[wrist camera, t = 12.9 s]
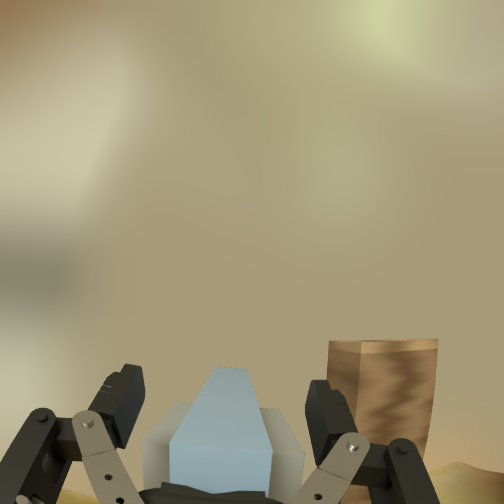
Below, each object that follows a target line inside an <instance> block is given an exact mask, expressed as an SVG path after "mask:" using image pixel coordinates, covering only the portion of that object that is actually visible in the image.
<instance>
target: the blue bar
mask: <svg viewBox="0 0 504 504" xmlns="http://www.w3.org/2000/svg"><path fill="white" fill-rule="evenodd" d="M272 452H273V450H272V447H271V443H270V440H269V437H268V434H267V431H266V428H265V425H264V422H263V419H262V416H261V412H260V409H259V406H258V403H257V400H256V396H255V393H254V390H253V387H252V383H251V380H250V377H249V373H248V370H247V369H242V368H227V367H215V368H214V370H213V372H212V373H211V375H210V377H209V378H208V380H207V382H206V383H205V385H204V387H203V388H202V390H201V392H200V393H199V395H198V397H197V398H196V400H195V401H194V403H193V405H192V406H191V408H190V410H189V411H188V413H187V414H186V416H185V418H184V419H183V421H182V422H181V424H180V426H179V427H178V429H177V431H176V432H175V434H174V435H173V437H172V439H171V440H170V442H169V463H170V483H173V484H180V485H186V486H189V487H192V488H195V489H198V490H201V491H205V492H208V493H212V494H216V493H225V492H232V491H239V490H241V491H265V497H267V498H268V491H269V482H270V472H271V462H272Z"/></svg>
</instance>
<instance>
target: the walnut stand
mask: <svg viewBox="0 0 504 504" xmlns="http://www.w3.org/2000/svg"><path fill="white" fill-rule="evenodd" d="M437 347H438V339H414V340H413V339H411V340H365V341H329V350H328V366H327V380H328V381H329V384H330V387H331V390H337V389H338V390H339V391H340V392H341V393H342V394H343V395H344V396H345V399H346V401H347V405H348V406H349V409H350V412H351V414H352V417H353V419H354V422H355V425H356V427H357V430H358V433H359V434H361V435H363V436H365V437H366V438H367V439H368V441H369V442H370V443H373V444H381V445H389V443H390V442H391V441H392V440H394V439H397V438H406V439H409V440H411V441H412V442H413V443H414V444H415V445H416V447H417V449H418V451H419V454H420V456H421V458H422V461H423V456H424V452H425V447H426V442H427V437H428V431H429V426H430V419H431V413H432V405H433V397H434V389H435V388H434V387H435V378H436V366H437V349H438V348H437ZM317 467H320V465H319V466H317ZM338 504H371V499H370V495H369V491H368V487H367V486H359V485H351V484H350V485H349V486H348V488H347V490H346V491H345V493H344V494H343V496H342V497H341V499H340V501H339V502H338Z"/></svg>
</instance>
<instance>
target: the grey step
mask: <svg viewBox="0 0 504 504" xmlns="http://www.w3.org/2000/svg"><path fill="white" fill-rule="evenodd" d="M192 405H193V403H187V402H179V401H177V402H176V403H175V405H174V406H173V407H172V408H171V409H170V410H169V411H168V412H167V414H166V415H165V416H164V417H163V418H162V419H161V420H160V421H159V423H158V424H157V425H156V426H155V427H154V428H153V429H152V430H151V432H149V434H148V435H147V436H146V437H145V438H144V439H143V441H142V458H143V480H144V490H146V489H150V488H160V487H161V483H162V482H167V483H170V463H169V442H170V440H171V439H172V437H173V435H174V434H175V432H176V431H177V429H178V427H179V426H180V424H181V422H182V421H183V419H184V418H185V416H186V414H187V413H188V411H189V410H190V408H191V406H192ZM259 409H260V412H261V416H262V419H263V422H264V425H265V428H266V431H267V434H268V437H269V440H270V443H271V447H272V450H273V452H272V462H271V472H270V482H269V491H268V498H271V499H275V500H277V501H280V502H282V503H284V504H287V503H288V502H289V501H290V500H291V499H292V498H293V496H294V495H295V494H296V493H297V492H298V490H299V489H300V488H301V482H302V475H303V467H304V460H305V452H304V450H303V449H302V447H301V445H300V444H299V442H298V440H297V439H296V437H295V435H294V434H293V432H292V430H291V429H290V427H289V425H288V424H287V422H286V420H285V418H284V417H283V415H282V413H281V411H280V410H279V409H263V408H259Z"/></svg>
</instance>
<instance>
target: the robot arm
mask: <svg viewBox="0 0 504 504" xmlns="http://www.w3.org/2000/svg"><path fill="white" fill-rule="evenodd" d="M144 399H145V386H144V379H143V373H142V368H141V366H137V365H131V364H125V365H124V366H123V368H122V370H121V372H120V373H119V372H114V373H112V374H111V375H109V376H108V377H107V378H106V380H105V382H104V383H103V385H102V386H101V388H100V391H99V392H98V393H97V395H96V396H95V398H94V400H93V402H92V403H91V405H90V406H89V408H88V410H86V411H81V412H79V413H77V414H76V415H75V416H74V417H73V418H58V417H56V416H55V414H54V413H53V411H52V410H50V409H48V408H38V409H35V410H34V411H32V412H31V413H30V415H29V417H28V418H27V419H26V421H25V423H24V424H23V426H22V427H21V429H20V431H19V432H18V434H17V435H16V437H15V439H14V440H13V442H12V443H11V445H10V447H9V449H8V450H7V452H6V454H5V455H4V457H3V459H2V461H1V462H0V504H56V502H57V499H58V496H59V494H60V491H61V489H62V486H63V483H64V481H65V478H66V476H67V473H68V471H69V468H70V466H71V464H72V461H83V464H84V467H85V469H86V472H87V475H88V477H89V480H90V482H91V485H92V487H93V490H94V492H95V494H96V497H97V499H98V501H99V503H100V504H284V503H282V502H280V501H277V500H275V499H271V498H267V497H265V491H241V490H239V491H232V492H225V493H216V494H212V493H208V492H205V491H201V490H198V489H195V488H192V487H189V486H186V485H180V484H173V483H167V482H162V483H161V487H160V488H150V489H146V490H143V491H140V492H137V490H136V488H135V487H134V485H133V483H132V481H131V479H130V477H129V475H128V473H127V471H126V469H125V467H124V466H123V464H122V462H121V459H120V457H119V455H118V453H117V451H116V448H117V447H118V448H122V449H125V447H126V445H127V442H128V440H129V437H130V435H131V432H132V430H133V427H134V425H135V422H136V420H137V417H138V414H139V412H140V410H141V407H142V405H143V403H144ZM305 415H306V420H307V425H308V429H309V434H310V438H311V444H312V448H313V453H314V458H315V463H316V466H319V465H320V467H317V468H316V469H315V470H314V471H313V473H312V474H311V475H310V477H309V478H308V479H307V480H306V482H305V483H304V484H303V485H302V487H301V488H300V489H299V490H298V492H297V493H296V494H295V495H294V496H293V498H292V499H291V500H290V501H289V502H288V503H287V504H338V502H339V501H340V499H341V497H342V496H343V494H344V493H345V491H346V490H347V488H348V486H349V485H350V484H351V485H359V486H367V487H368V491H369V495H370V499H371V504H440V502H439V499H438V497H437V494H436V492H435V489H434V487H433V484H432V482H431V480H430V477H429V475H428V472H427V470H426V468H425V465H424V463H423V461H422V458H421V456H420V454H419V451H418V449H417V447H416V445H415V444H414V443H413V442H412V441H411V440H409V439H406V438H397V439H394V440H392V441H391V442H390V443H389V445H381V444H373V443H370V442H369V441H368V439H367V438H366V437H365V436H363V435H361V434H359V433H358V430H357V427H356V425H355V422H354V419H353V417H352V414H351V412H350V409H349V406H348V405H347V401H346V399H345V396H344V395H343V394H342V393H341V392H340V391H339V390H338V389H337V390H331V387H330V384H329V381H328V380H312V381H311V383H310V387H309V391H308V395H307V400H306V404H305Z"/></svg>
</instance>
